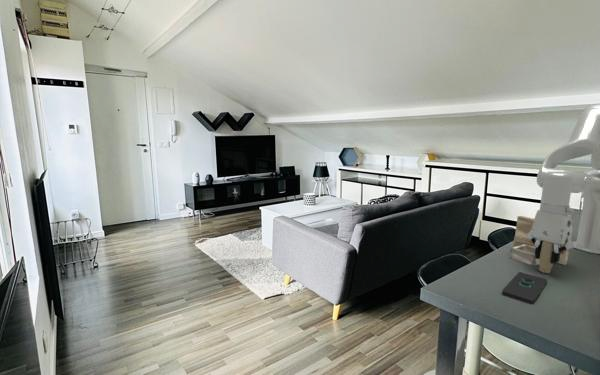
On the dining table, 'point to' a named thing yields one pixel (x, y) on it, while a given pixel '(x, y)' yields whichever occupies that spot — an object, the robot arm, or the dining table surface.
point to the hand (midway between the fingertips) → (546, 259)
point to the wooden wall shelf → (529, 244)
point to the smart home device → (525, 287)
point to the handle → (546, 256)
